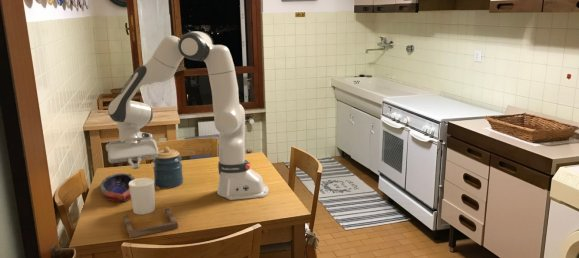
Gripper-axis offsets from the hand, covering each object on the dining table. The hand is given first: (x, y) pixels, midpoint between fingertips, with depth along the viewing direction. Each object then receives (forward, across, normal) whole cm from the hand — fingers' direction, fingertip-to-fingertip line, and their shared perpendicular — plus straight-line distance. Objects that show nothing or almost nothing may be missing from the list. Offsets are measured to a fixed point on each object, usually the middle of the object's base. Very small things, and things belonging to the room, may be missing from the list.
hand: (136, 168), depth 194 cm
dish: (+1, -6, +19) cm, 20 cm away
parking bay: (+28, 0, -9) cm, 30 cm away
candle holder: (+19, 0, +1) cm, 19 cm away
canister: (0, +16, +20) cm, 25 cm away
